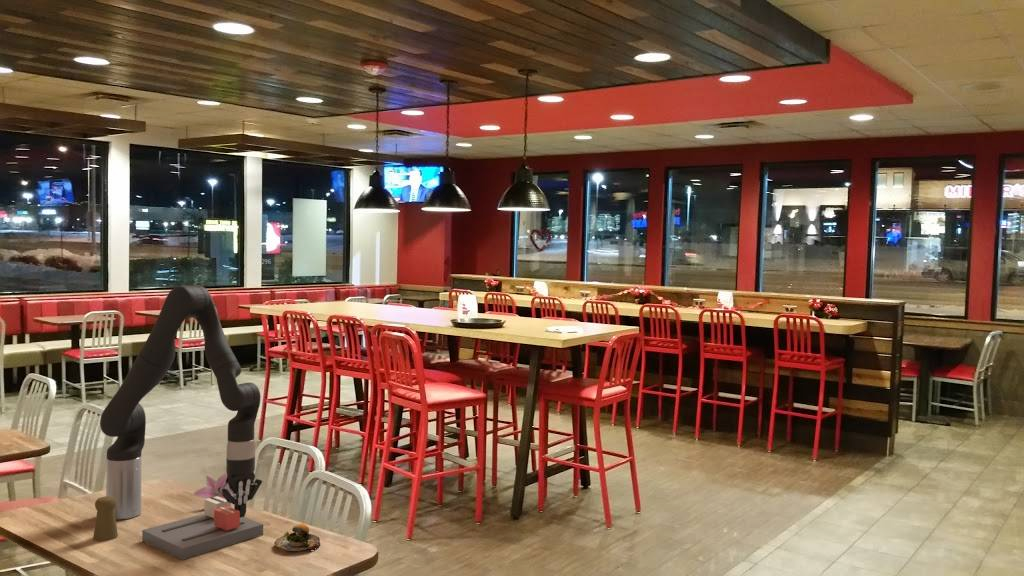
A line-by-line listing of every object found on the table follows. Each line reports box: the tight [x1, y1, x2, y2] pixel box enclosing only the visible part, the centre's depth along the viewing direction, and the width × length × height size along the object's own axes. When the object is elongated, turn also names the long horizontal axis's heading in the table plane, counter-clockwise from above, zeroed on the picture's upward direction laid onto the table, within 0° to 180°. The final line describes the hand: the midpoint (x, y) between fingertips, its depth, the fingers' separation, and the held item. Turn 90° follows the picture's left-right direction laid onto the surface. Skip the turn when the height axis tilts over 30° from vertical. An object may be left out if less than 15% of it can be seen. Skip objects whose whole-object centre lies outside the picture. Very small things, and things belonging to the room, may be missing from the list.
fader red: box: [214, 506, 240, 531], centre depth 216 cm, size 6×4×5 cm, turn 53°
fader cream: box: [203, 496, 229, 518], centre depth 225 cm, size 6×4×5 cm, turn 53°
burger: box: [273, 517, 321, 552], centre depth 212 cm, size 12×12×8 cm
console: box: [141, 513, 264, 561], centre depth 217 cm, size 20×24×3 cm
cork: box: [92, 496, 119, 542], centre depth 215 cm, size 6×6×11 cm
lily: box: [192, 472, 232, 508], centre depth 243 cm, size 12×12×10 cm
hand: (240, 516), depth 220 cm, fingers closed
